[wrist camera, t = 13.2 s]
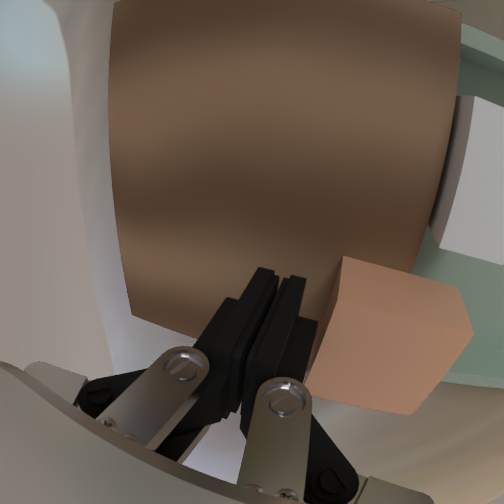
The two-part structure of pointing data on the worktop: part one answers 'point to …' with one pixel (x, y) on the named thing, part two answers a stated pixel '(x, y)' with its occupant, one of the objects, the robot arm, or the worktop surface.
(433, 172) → the walnut board
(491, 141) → the grey tile
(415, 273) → the box
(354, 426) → the worktop surface
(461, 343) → the terracotta block
